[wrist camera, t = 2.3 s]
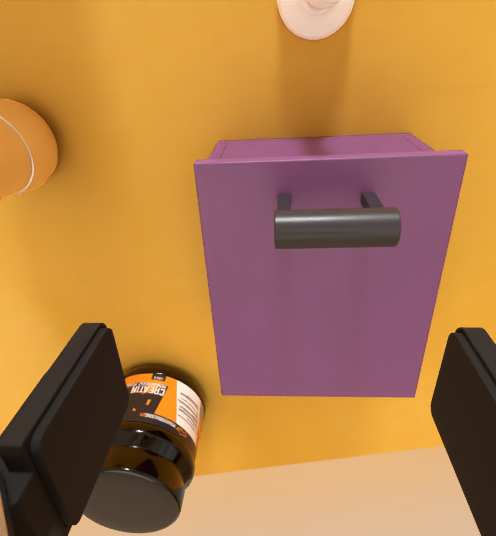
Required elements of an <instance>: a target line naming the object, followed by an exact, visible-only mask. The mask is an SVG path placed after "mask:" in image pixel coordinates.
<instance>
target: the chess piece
mask: <svg viewBox="0 0 496 536" xmlns="http://www.w3.org/2000/svg"><path fill="white" fill-rule="evenodd" d="M354 2H355V0H277V5H278V10H279V13H280V16H281V18H282V20H283V22H284V24H285V25H286V27H287V28H288V29H289V30H290V31H291V32H292V33H294V34H295V35H297V36H298V37H301V38H303V39H307V40H319V39H323V38H326V37H328V36H330V35H332V34H333V33H335V32H336V31H337V30H339V29H340V28H341V27H342V26H343V24H344V23H345V22H346V20H347V19H348V17H349V15H350V13H351V11H352V9H353V6H354Z"/></svg>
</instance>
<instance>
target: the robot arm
mask: <svg viewBox="0 0 496 536" xmlns="http://www.w3.org/2000/svg"><path fill="white" fill-rule="evenodd" d="M128 404H129V393H128V389H127V385H126V382H125V378H124V374H123V370H122V366H121V362H120V358H119V355H118V351H117V347H116V343H115V339H114V335H113V332H112V330H111V329H110V328H107V327H106V325H105V324H104V323H83V324H82V325H81V326H80V327H79V328H78V330H77V331H76V332H75V334H74V335H73V337H72V338H71V339H70V341H69V342H68V344H67V345H66V346H65V348H64V349H63V351H62V352H61V353H60V355H59V356H58V358H57V359H56V360H55V362H54V363H53V365H52V366H51V367H50V369H49V370H48V371H47V372H46V373H45V375H44V376H43V377H42V379H41V380H40V381H39V383H38V384H37V386H36V387H35V388H34V390H33V391H32V392H31V394H30V395H29V397H28V398H27V399H26V401H25V402H24V404H23V405H22V406H21V408H20V409H19V411H18V412H17V413H16V415H15V416H14V418H13V419H12V420H11V422H10V423H9V425H8V426H7V427H6V429H5V430H4V431H3V433H2V434H1V436H0V536H68V534H69V531H70V529H71V527H72V525H76V524H77V523H78V522H79V521H80V519H81V517H82V515H83V512H84V510H85V507H86V505H87V503H88V500H89V498H90V496H91V493H92V491H93V489H94V486H95V484H96V481H97V479H98V477H99V474H100V472H101V470H102V467H103V465H104V462H105V460H106V458H107V455H108V453H109V451H110V448H111V446H112V443H113V441H114V439H115V436H116V434H117V432H118V429H119V427H120V425H121V422H122V420H123V417H124V415H125V413H126V410H127V408H128ZM431 413H432V417H433V419H434V422H435V424H436V427H437V429H438V432H439V434H440V436H441V439H442V441H443V444H444V446H445V448H446V451H447V453H448V456H449V458H450V461H451V463H452V466H453V468H454V471H455V473H456V475H457V478H458V480H459V483H460V485H461V488H462V490H463V493H464V495H465V497H466V500H467V502H468V505H469V507H470V510H471V512H472V514H473V517H474V519H475V522H476V524H477V527H478V529H479V531H480V534H481V536H496V344H495V343H494V342H493V340H492V339H491V338H490V336H489V335H488V333H487V332H486V331H485V330H484V329H483V328H462V327H460V328H458V329H457V330H456V332H455V333H450V335H449V337H448V341H447V344H446V348H445V352H444V356H443V360H442V363H441V367H440V371H439V375H438V379H437V382H436V386H435V390H434V394H433V397H432V401H431Z"/></svg>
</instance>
